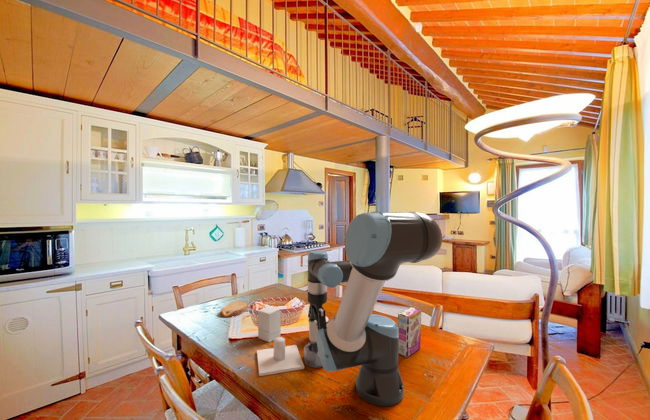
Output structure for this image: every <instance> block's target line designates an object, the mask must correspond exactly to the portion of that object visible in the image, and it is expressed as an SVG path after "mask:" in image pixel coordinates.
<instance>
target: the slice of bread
mask: <svg viewBox="0 0 650 420" xmlns="http://www.w3.org/2000/svg"><path fill="white" fill-rule="evenodd" d="M247 309H248V303H247V302H246V301H243V300H236V301H233V302H231V303H228V304H227V305H225V306H224V307H222V309H221V310H220V312H219V313H220V316H221V317H222V318H224V319H229V318H230V319H231V318H233V317H232V316H234V317H237V316H240V315H242V314H244V313H245V312H246V311H247ZM236 315H237V316H236Z"/></svg>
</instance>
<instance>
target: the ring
mask: <svg viewBox="0 0 650 420" xmlns="http://www.w3.org/2000/svg"><path fill="white" fill-rule="evenodd" d="M303 361H304V364H305V365H306V366H308V367H311V368H313V369H318V368H323V366H322V364H321V361H320V357H319V356H318V348H317V341H314V342H311V341H309V342H308V343H307V344H305V345H304V346H303Z"/></svg>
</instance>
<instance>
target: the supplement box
mask: <svg viewBox="0 0 650 420" xmlns="http://www.w3.org/2000/svg"><path fill="white" fill-rule="evenodd" d="M257 328H258V330H257V338H258V339H260V340H262V341H265V342H266V343H271V342H272V341H273V342H274V339H275V338H277V337H282V336H281V334H282V333H281V331H282V330H281V308H278V307H275V306H271V305H268V306H266V307H263V308H261V309H259V310H258V311H257Z"/></svg>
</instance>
